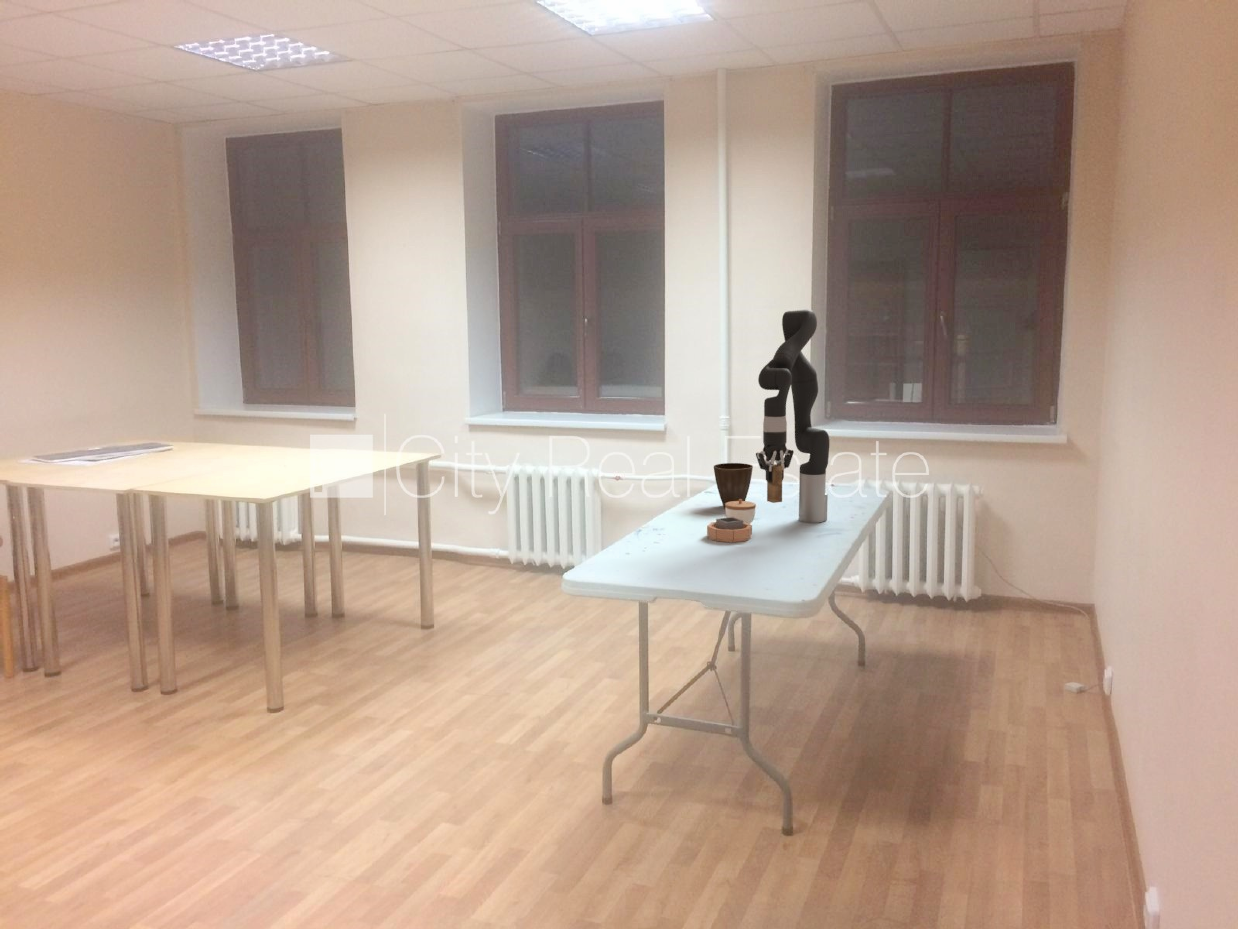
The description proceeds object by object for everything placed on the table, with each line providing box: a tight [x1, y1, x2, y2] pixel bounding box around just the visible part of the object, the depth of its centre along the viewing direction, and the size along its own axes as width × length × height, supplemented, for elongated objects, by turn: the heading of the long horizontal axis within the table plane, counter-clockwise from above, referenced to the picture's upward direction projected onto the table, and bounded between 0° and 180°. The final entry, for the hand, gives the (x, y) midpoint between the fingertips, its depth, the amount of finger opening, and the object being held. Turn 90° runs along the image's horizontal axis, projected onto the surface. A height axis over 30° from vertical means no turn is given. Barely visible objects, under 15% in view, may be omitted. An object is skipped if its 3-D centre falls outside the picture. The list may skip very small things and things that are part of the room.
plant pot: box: [713, 462, 754, 508], centre depth 373 cm, size 15×15×16 cm
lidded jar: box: [724, 499, 757, 525], centre depth 341 cm, size 11×11×9 cm
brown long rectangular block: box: [766, 463, 783, 504], centre depth 319 cm, size 4×4×12 cm
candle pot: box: [706, 517, 753, 543], centre depth 323 cm, size 14×14×6 cm
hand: (774, 481), depth 318 cm, fingers closed on brown long rectangular block, 3 cm apart
